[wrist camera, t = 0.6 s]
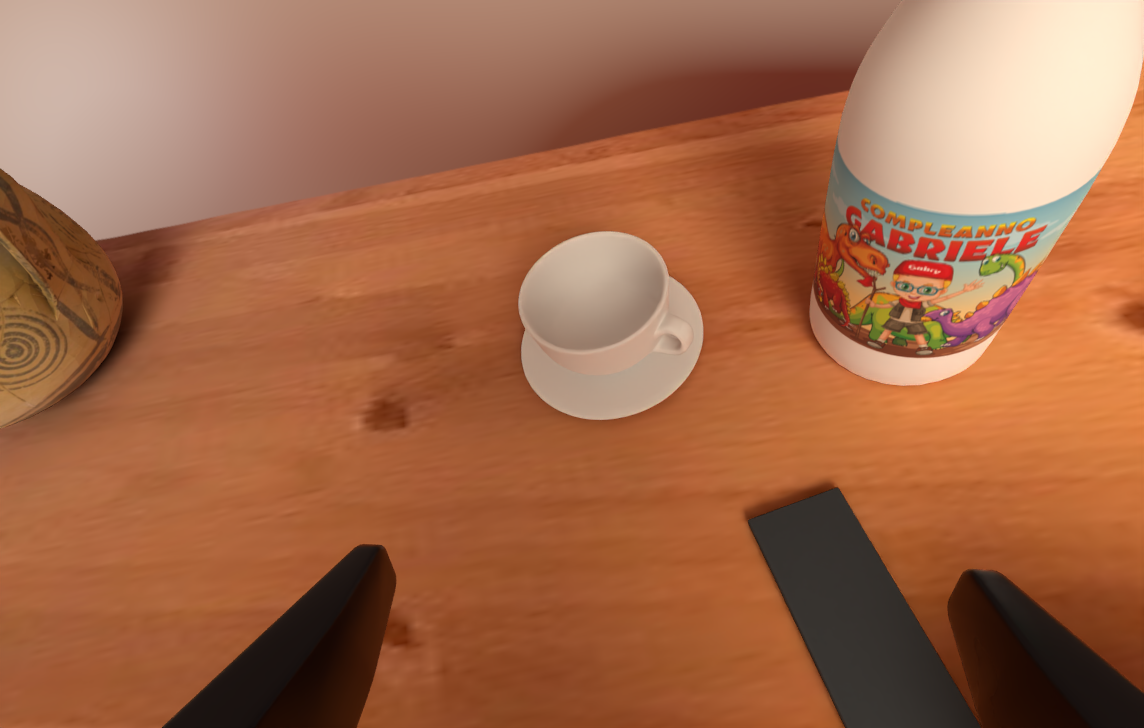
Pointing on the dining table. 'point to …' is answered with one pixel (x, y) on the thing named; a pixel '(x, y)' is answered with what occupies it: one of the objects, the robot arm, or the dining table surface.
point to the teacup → (606, 327)
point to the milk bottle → (963, 172)
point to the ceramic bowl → (49, 303)
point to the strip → (856, 619)
